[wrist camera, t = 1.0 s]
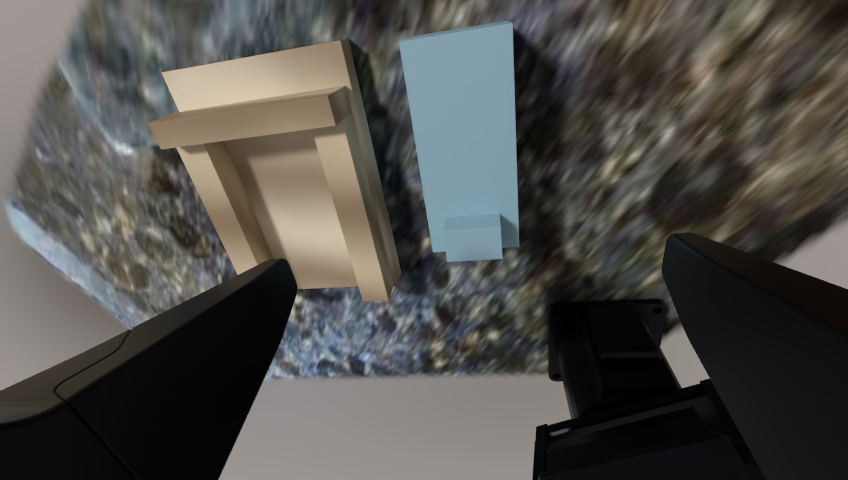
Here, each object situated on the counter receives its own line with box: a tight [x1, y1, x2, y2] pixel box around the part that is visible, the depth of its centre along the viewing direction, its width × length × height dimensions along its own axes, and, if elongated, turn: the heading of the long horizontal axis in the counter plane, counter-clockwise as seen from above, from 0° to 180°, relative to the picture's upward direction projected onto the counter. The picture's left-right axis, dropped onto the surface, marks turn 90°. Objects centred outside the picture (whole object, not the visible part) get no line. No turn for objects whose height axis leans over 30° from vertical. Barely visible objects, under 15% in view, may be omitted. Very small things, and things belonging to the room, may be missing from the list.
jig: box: [148, 39, 401, 302], centre depth 20 cm, size 13×9×4 cm
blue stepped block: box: [399, 21, 519, 262], centre depth 17 cm, size 9×4×5 cm, turn 9°
